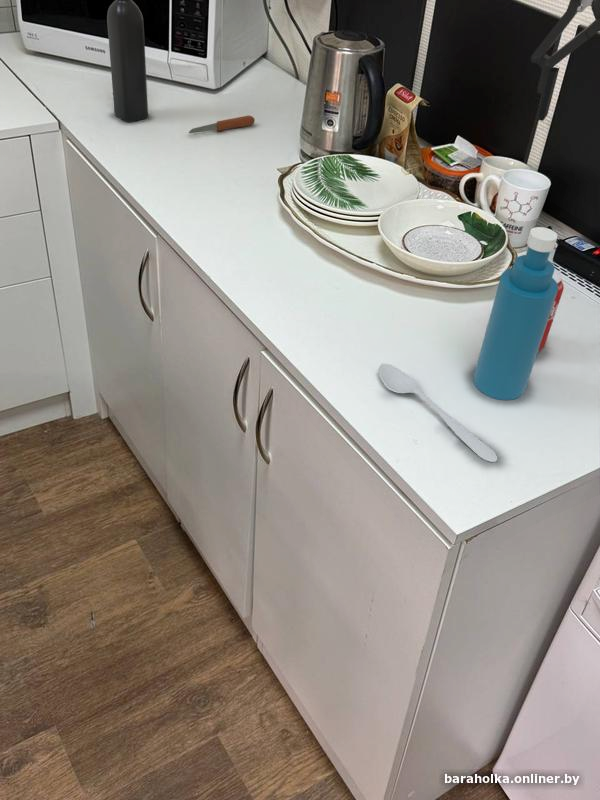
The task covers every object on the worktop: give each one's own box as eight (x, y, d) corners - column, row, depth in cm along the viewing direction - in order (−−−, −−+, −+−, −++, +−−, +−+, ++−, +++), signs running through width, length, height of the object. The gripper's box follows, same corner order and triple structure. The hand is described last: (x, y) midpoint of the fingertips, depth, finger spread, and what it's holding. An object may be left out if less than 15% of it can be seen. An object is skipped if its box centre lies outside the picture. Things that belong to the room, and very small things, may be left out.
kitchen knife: (251, 123, 172) (251, 113, 171) (255, 125, 171) (255, 116, 170) (186, 135, 164) (186, 126, 163) (190, 138, 164) (190, 128, 162)
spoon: (391, 367, 109) (392, 357, 108) (506, 455, 98) (510, 445, 97) (368, 377, 107) (370, 368, 106) (484, 468, 96) (487, 458, 94)
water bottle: (516, 367, 112) (562, 220, 97) (531, 400, 106) (583, 249, 92) (467, 367, 111) (506, 218, 96) (480, 400, 105) (524, 248, 91)
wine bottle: (112, 114, 170) (99, -44, 151) (135, 109, 173) (125, -47, 154) (127, 123, 167) (116, -37, 148) (150, 118, 170) (142, -40, 151)
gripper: (533, -54, 99) (496, 116, 113) (748, -21, 92) (680, 158, 105) (547, -63, 105) (510, 101, 118) (751, -32, 97) (687, 139, 110)
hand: (590, 128), depth 112 cm, fingers open, 13 cm apart
